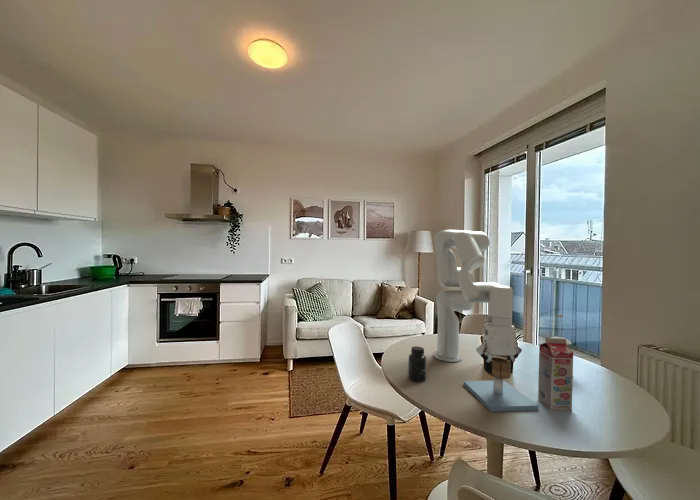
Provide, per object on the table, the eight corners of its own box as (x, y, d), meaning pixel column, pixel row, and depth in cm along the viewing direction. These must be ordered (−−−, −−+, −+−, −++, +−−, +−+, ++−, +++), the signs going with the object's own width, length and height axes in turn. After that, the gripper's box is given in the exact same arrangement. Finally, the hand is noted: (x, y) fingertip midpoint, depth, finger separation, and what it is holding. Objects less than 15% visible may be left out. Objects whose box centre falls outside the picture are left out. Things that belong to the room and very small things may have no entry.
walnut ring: (483, 370, 105) (483, 356, 105) (502, 369, 106) (502, 356, 106) (494, 378, 98) (495, 363, 98) (514, 378, 99) (514, 363, 99)
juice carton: (538, 399, 101) (539, 335, 101) (557, 399, 101) (559, 335, 101) (550, 409, 95) (552, 341, 94) (571, 410, 94) (573, 341, 94)
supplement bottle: (426, 383, 111) (427, 352, 111) (407, 381, 112) (408, 350, 112) (425, 376, 118) (426, 346, 118) (408, 374, 119) (408, 344, 119)
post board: (463, 385, 110) (463, 367, 110) (503, 384, 112) (504, 367, 112) (490, 411, 93) (491, 390, 93) (538, 410, 94) (538, 389, 94)
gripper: (481, 323, 98) (480, 377, 98) (530, 323, 99) (529, 376, 99) (470, 318, 105) (469, 368, 105) (516, 318, 107) (515, 367, 107)
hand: (498, 371), depth 102 cm, fingers closed on walnut ring, 7 cm apart
